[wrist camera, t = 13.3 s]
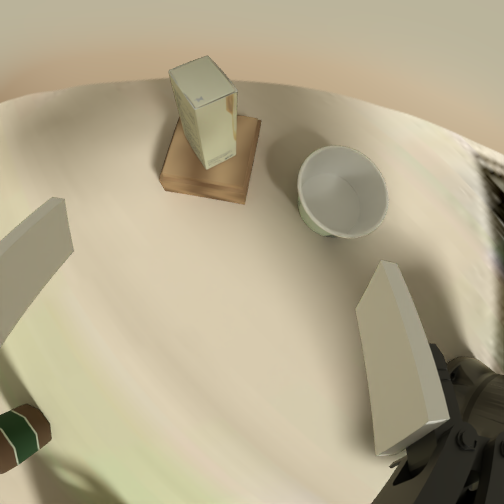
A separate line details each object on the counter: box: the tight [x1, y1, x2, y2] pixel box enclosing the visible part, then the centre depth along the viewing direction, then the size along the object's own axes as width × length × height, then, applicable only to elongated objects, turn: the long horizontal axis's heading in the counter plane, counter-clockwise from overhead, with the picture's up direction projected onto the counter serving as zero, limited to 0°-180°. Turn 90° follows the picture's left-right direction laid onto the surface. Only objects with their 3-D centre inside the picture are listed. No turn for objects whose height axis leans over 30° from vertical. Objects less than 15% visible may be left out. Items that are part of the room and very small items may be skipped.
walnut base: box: [159, 115, 261, 205], centre depth 37 cm, size 11×11×5 cm
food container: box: [297, 145, 389, 238], centre depth 37 cm, size 12×12×6 cm
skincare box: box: [169, 56, 237, 170], centre depth 29 cm, size 6×4×12 cm
